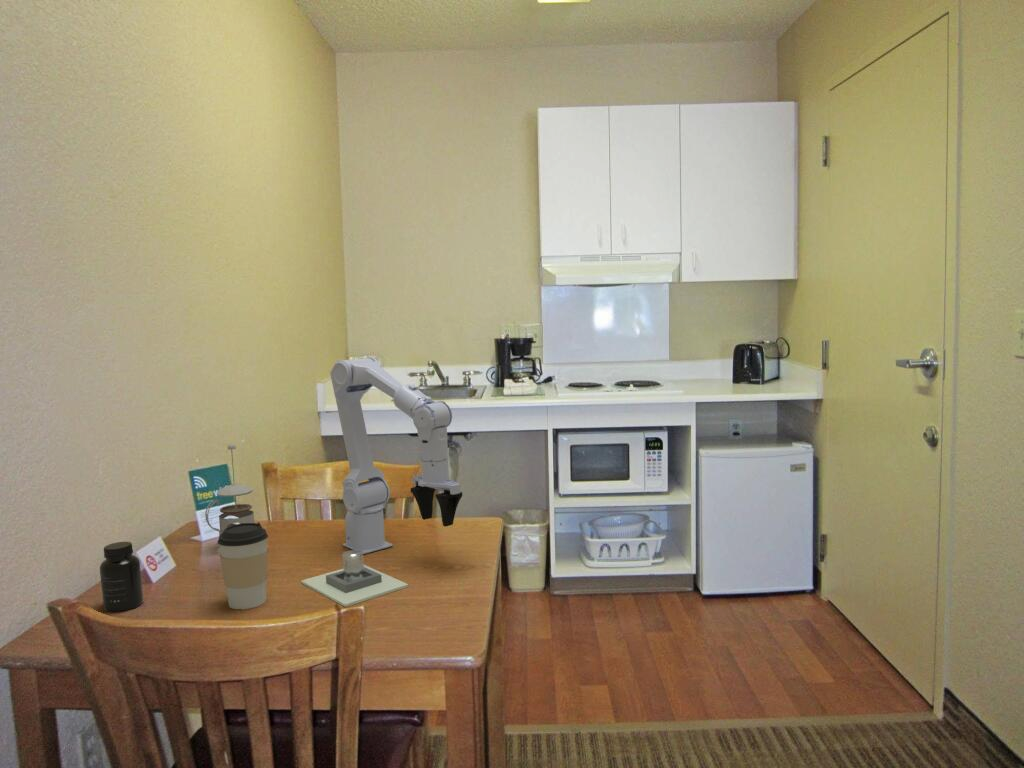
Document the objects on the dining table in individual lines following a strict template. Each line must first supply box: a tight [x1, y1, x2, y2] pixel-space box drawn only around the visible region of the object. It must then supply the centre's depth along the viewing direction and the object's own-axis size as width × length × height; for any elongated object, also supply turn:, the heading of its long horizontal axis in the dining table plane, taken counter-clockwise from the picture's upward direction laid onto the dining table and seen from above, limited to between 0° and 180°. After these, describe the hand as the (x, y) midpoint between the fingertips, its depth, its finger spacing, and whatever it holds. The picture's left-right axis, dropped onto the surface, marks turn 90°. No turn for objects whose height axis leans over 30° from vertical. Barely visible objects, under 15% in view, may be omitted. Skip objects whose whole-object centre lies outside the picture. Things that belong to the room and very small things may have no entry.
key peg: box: [341, 549, 365, 582], centre depth 150 cm, size 4×4×6 cm
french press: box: [204, 443, 255, 555], centre depth 175 cm, size 10×12×25 cm
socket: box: [300, 563, 409, 608], centre depth 150 cm, size 18×14×2 cm
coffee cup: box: [217, 522, 269, 611], centre depth 142 cm, size 9×9×15 cm
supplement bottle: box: [99, 541, 144, 613], centre depth 142 cm, size 7×7×12 cm
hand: (437, 521), depth 159 cm, fingers open, 7 cm apart
